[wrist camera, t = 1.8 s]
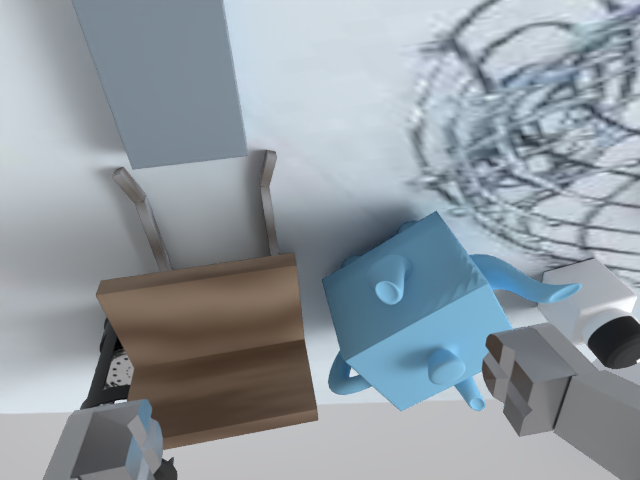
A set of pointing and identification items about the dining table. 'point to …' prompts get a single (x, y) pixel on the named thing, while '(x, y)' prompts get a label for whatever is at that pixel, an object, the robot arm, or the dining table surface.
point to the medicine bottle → (596, 313)
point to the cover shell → (167, 78)
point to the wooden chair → (213, 337)
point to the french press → (117, 385)
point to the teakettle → (421, 314)
